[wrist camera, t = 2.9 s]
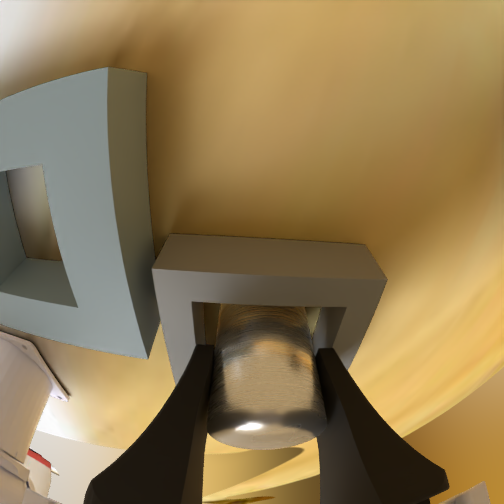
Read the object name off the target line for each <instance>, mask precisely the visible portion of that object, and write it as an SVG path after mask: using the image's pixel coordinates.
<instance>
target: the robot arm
mask: <svg viewBox="0 0 504 504" xmlns="http://www.w3.org/2000/svg"><path fill="white" fill-rule="evenodd" d="M315 359H316V365H317V370H318V375H319V380H320V385H321V391H322V396H323V402H324V407H325V413H326V418H327V426H326V428H325V430H324V431H323V432H322V433H321V434H320V435H318V436H317V442H318V449H319V461H320V504H430V500H429V498H431V497H433V496H435V495H437V494H439V493H441V492H444V491H446V490H448V489H449V483H448V479H447V475H446V472H445V470H444V469H442V468H441V467H439V466H438V465H436V464H434V463H433V462H431V461H430V460H428V459H427V458H425V457H424V456H423V455H421V454H420V453H419V452H417V451H416V450H414V448H412V447H411V446H410V445H409V444H408V443H406V441H404V440H403V439H402V438H401V437H400V436H399V435H398V434H397V433H396V432H395V431H394V430H393V429H392V428H391V427H390V426H389V425H388V424H387V423H386V422H385V421H384V420H383V418H382V417H381V416H380V415H379V414H378V413H377V411H376V410H375V409H374V408H373V406H372V405H371V404H370V403H369V401H368V400H367V399H366V397H365V396H364V394H363V393H362V392H361V390H360V389H359V387H358V386H357V384H356V383H355V381H354V380H353V378H352V377H351V375H350V374H349V372H348V371H347V369H346V368H345V366H344V364H343V363H342V361H341V359H340V358H339V356H338V354H337V353H336V351H335V349H334V348H318V351H317V353H316V356H315ZM213 363H214V345H201V344H198V345H196V346H195V348H194V351H193V353H192V356H191V358H190V360H189V362H188V365H187V367H186V369H185V371H184V373H183V374H182V376H181V378H180V380H179V382H178V383H177V385H176V387H175V389H174V390H173V392H172V393H171V395H170V397H169V398H168V400H167V401H166V403H165V404H164V406H163V407H162V409H161V410H160V412H159V413H158V414H157V416H156V417H155V418H154V420H153V421H152V422H151V423H150V425H149V426H148V427H147V428H146V430H145V431H144V432H143V433H142V434H141V435H140V437H139V438H138V439H137V440H136V441H135V442H134V443H133V444H132V445H131V446H130V447H129V448H128V449H127V450H126V451H125V452H124V453H123V454H122V455H121V456H120V457H119V458H118V459H117V460H116V461H115V462H113V463H112V464H111V465H110V466H109V467H107V468H106V469H105V470H104V471H102V472H101V473H100V474H98V475H97V476H96V477H95V478H93V479H92V480H91V482H90V484H89V486H88V489H87V491H86V494H85V498H84V504H202V487H203V467H204V452H205V444H206V438H207V433H208V431H207V418H208V408H209V398H210V389H211V380H212V372H213ZM49 396H52V397H54V398H57V399H60V400H63V401H66V402H68V401H69V399H70V398H69V396H68V395H67V394H66V392H65V391H64V390H63V388H62V387H61V385H60V384H59V383H58V381H57V380H56V378H55V377H54V375H53V374H52V373H51V371H50V370H49V368H48V367H47V365H46V363H45V362H44V360H43V359H42V357H41V356H40V354H39V352H38V351H37V349H36V347H35V346H34V345H33V344H32V343H31V342H30V341H27V340H24V339H21V338H18V337H15V336H12V335H9V334H7V333H4V332H1V331H0V504H61V503H59V502H57V501H55V500H52V499H50V498H47V497H45V496H43V495H41V494H39V493H37V492H36V491H35V488H34V485H33V482H32V480H31V478H30V476H29V473H30V470H29V469H27V468H26V467H24V466H23V465H21V464H20V463H22V464H24V462H25V459H26V456H27V453H28V450H29V447H30V444H31V441H32V438H33V435H34V433H35V430H36V427H37V425H38V422H39V420H40V417H41V415H42V412H43V410H44V407H45V405H46V403H47V400H48V398H49ZM12 458H13V459H12ZM15 460H16V461H15ZM17 461H18V462H20V463H18V462H17ZM439 504H490V500H489V496H488V492H487V488H486V484H485V482H484V481H483V482H481V483H479V484H478V485H476V486H474V487H473V488H470V489H469V490H467V491H465V492H463V493H460V494H458V495H456V496H454V497H452V498H450V499H448V500H446V501H444V502H441V503H439Z"/></svg>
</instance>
